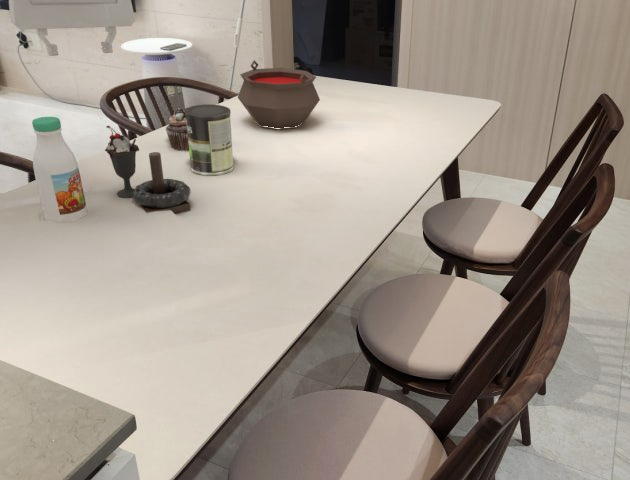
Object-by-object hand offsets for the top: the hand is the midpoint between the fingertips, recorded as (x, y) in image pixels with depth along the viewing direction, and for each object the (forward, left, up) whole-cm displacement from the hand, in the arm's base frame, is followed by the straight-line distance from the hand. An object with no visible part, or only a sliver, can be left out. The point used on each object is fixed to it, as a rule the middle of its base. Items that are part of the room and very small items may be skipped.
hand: (81, 53), depth 116 cm
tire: (+10, -5, -27) cm, 30 cm away
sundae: (+6, +5, -31) cm, 31 cm away
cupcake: (+29, +30, -31) cm, 52 cm away
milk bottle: (-9, -3, -31) cm, 32 cm away
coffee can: (+28, +11, -31) cm, 43 cm away
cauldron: (+61, +38, -31) cm, 78 cm away
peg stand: (+9, -5, -30) cm, 32 cm away
